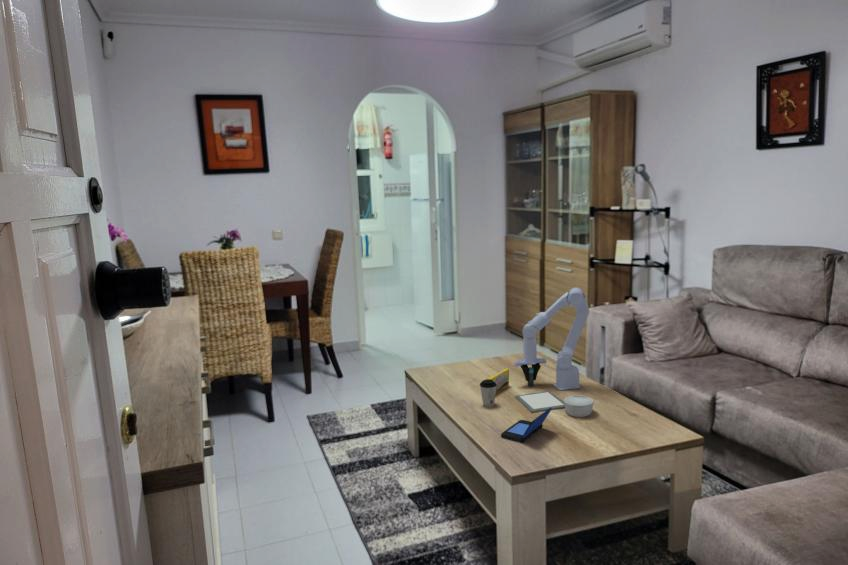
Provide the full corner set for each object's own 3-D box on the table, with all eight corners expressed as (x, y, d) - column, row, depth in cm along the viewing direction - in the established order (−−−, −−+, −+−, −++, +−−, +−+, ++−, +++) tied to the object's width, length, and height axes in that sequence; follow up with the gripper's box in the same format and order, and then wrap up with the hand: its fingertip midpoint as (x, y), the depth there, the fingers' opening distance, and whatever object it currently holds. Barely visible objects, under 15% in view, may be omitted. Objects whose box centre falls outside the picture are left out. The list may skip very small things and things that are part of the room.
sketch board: (549, 392, 247) (549, 390, 247) (569, 407, 230) (569, 405, 230) (514, 397, 244) (514, 395, 244) (531, 412, 226) (531, 410, 226)
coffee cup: (496, 408, 233) (495, 384, 231) (479, 407, 234) (478, 384, 233) (497, 401, 240) (497, 378, 238) (481, 401, 241) (480, 378, 240)
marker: (532, 383, 259) (532, 366, 257) (535, 385, 256) (534, 368, 254) (526, 384, 258) (525, 367, 257) (529, 386, 255) (528, 369, 254)
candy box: (491, 398, 245) (490, 379, 243) (486, 397, 246) (486, 378, 244) (509, 386, 257) (509, 368, 256) (505, 385, 259) (504, 367, 257)
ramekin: (593, 408, 228) (593, 395, 227) (593, 419, 217) (593, 406, 216) (564, 406, 231) (564, 394, 230) (563, 417, 220) (563, 404, 220)
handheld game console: (520, 422, 218) (520, 399, 217) (553, 430, 210) (552, 406, 208) (499, 438, 206) (498, 413, 205) (532, 446, 198) (532, 421, 196)
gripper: (518, 355, 249) (518, 385, 251) (549, 351, 252) (549, 380, 254) (512, 350, 256) (512, 379, 258) (542, 347, 259) (542, 376, 261)
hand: (530, 380), depth 256 cm, fingers closed on marker, 3 cm apart
